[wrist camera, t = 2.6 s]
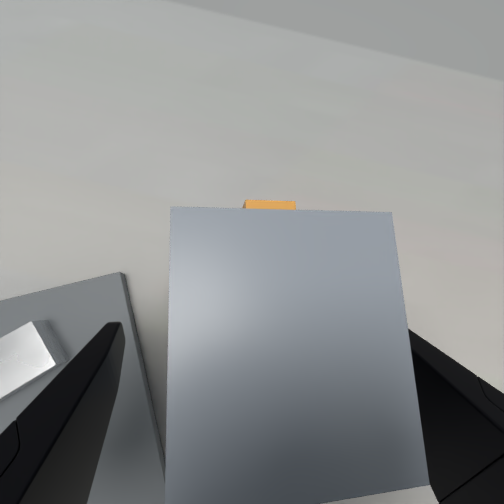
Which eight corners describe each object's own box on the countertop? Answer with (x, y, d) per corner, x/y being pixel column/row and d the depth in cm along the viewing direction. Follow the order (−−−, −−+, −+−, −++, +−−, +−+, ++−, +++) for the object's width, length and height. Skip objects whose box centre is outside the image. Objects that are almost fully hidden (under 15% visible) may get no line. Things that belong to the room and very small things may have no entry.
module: (272, 365, 18) (429, 484, 6) (190, 371, 17) (164, 530, 5) (267, 263, 19) (387, 180, 7) (190, 264, 18) (171, 169, 6)
